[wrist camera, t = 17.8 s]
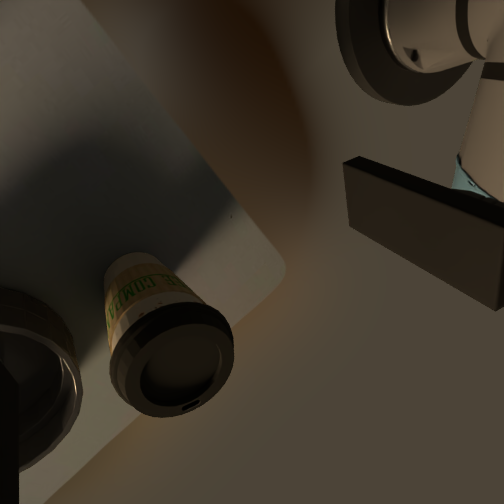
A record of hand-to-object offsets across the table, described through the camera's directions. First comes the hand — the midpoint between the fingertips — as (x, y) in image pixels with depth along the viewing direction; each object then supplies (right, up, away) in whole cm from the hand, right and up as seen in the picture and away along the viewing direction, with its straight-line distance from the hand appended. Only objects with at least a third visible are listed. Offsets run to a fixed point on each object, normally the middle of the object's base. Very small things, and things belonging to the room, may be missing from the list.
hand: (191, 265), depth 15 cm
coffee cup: (-10, -2, +29) cm, 31 cm away
